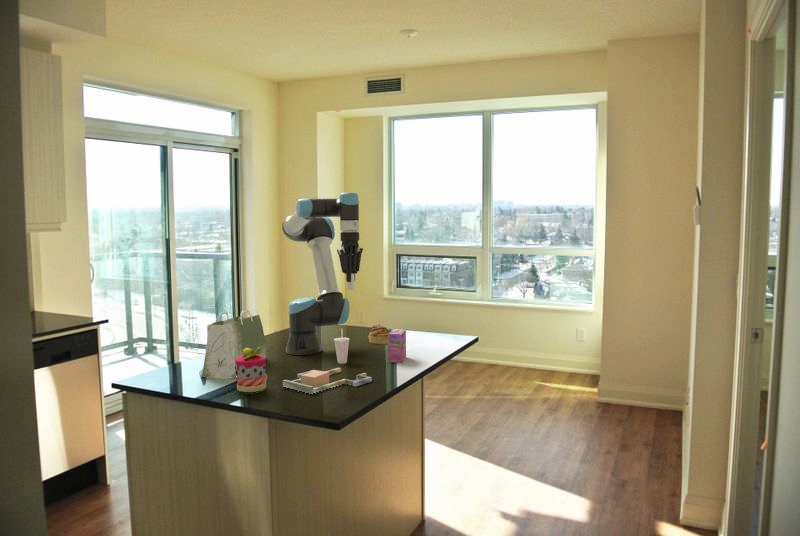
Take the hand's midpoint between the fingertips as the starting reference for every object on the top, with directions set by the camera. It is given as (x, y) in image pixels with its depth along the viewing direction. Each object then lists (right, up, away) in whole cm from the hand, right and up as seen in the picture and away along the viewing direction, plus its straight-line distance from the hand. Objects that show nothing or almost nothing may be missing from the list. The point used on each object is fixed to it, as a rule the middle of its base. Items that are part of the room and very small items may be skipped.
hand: (351, 289), depth 248 cm
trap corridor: (-6, -32, -28) cm, 43 cm away
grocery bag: (-45, -31, -5) cm, 55 cm away
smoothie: (-4, -30, +1) cm, 30 cm away
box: (+19, -29, +4) cm, 35 cm away
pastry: (+11, -26, +42) cm, 51 cm away
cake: (-32, -33, -36) cm, 58 cm away
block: (-10, -33, -33) cm, 47 cm away
